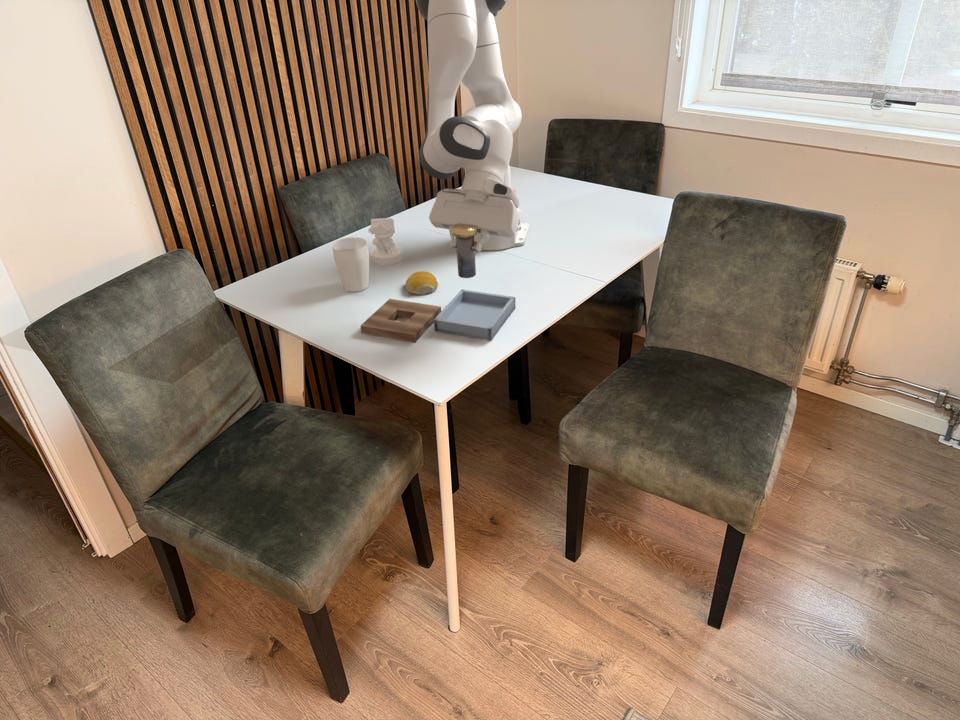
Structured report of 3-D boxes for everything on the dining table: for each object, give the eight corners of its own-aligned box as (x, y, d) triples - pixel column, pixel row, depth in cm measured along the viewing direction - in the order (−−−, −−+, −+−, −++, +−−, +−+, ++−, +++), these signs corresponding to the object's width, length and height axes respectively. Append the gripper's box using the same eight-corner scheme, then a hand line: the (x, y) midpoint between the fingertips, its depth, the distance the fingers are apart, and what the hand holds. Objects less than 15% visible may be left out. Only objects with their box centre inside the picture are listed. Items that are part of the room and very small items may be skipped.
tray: (462, 300, 166) (461, 289, 165) (515, 308, 161) (515, 297, 160) (434, 331, 154) (433, 319, 152) (491, 340, 149) (490, 328, 147)
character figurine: (370, 265, 187) (364, 224, 180) (375, 251, 195) (369, 211, 188) (401, 264, 186) (396, 223, 180) (405, 250, 194) (400, 210, 188)
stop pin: (460, 267, 154) (457, 221, 148) (482, 270, 152) (480, 223, 146) (450, 277, 150) (447, 230, 144) (474, 281, 148) (471, 233, 142)
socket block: (390, 305, 165) (389, 298, 164) (441, 313, 161) (441, 306, 160) (361, 333, 155) (360, 325, 154) (415, 342, 150) (414, 334, 149)
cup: (336, 283, 178) (328, 240, 172) (369, 276, 180) (363, 234, 174) (342, 297, 171) (335, 253, 164) (377, 290, 173) (371, 247, 167)
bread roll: (434, 278, 178) (433, 264, 176) (440, 293, 171) (439, 279, 168) (403, 283, 177) (402, 269, 174) (408, 297, 169) (406, 283, 167)
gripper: (434, 180, 150) (417, 237, 148) (519, 189, 143) (502, 249, 141) (444, 193, 156) (428, 248, 154) (526, 202, 149) (510, 260, 147)
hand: (464, 249), depth 147 cm, fingers closed on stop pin, 4 cm apart
